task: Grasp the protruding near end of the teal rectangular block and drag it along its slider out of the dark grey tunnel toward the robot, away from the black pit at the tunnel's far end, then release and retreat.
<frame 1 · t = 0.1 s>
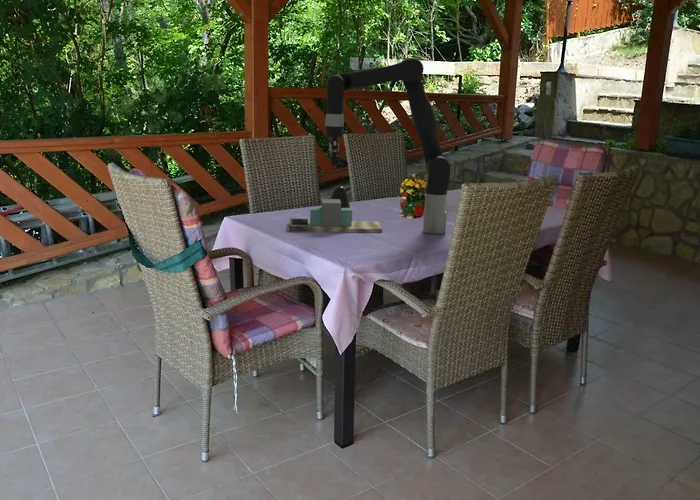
hand: (333, 164, 266), 29 cm above the table, fingers open, 8 cm apart
teal rectangular block: (330, 216, 277), point 5 cm above the table, slide at 0.0 cm
tunnel: (330, 227, 278), resting on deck
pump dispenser: (339, 218, 298), on the table
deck: (335, 227, 278), on the table
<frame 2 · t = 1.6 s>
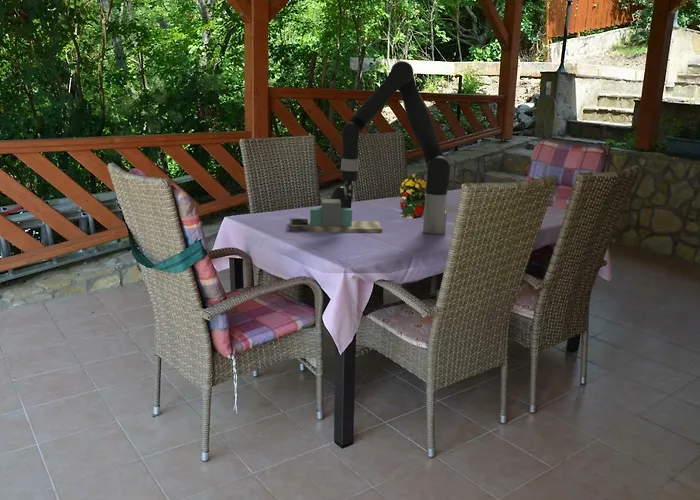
hand: (347, 205, 276), 10 cm above the table, fingers open, 8 cm apart
nothing on the table moved.
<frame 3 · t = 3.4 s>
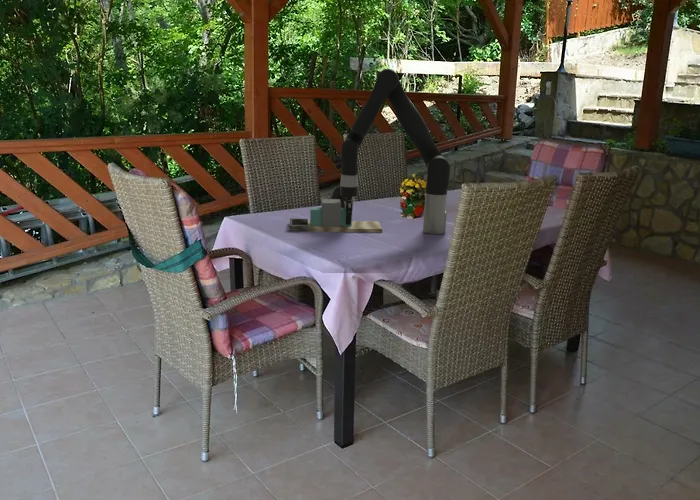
hand: (347, 222, 278), 2 cm above the table, fingers closed on teal rectangular block, 5 cm apart
teal rectangular block: (330, 216, 277), point 5 cm above the table, slide at 0.0 cm, touching gripper
everything else where it was.
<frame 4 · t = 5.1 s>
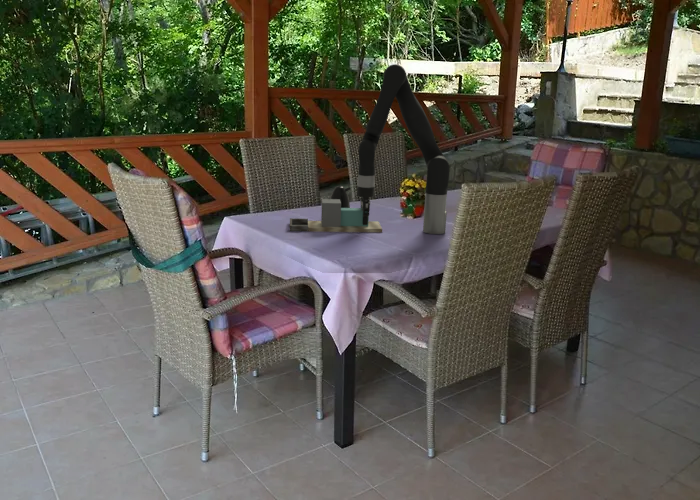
hand: (364, 223, 279), 2 cm above the table, fingers closed on teal rectangular block, 5 cm apart
teal rectangular block: (347, 216, 278), point 5 cm above the table, slide at 7.4 cm, touching gripper
everything else where it was.
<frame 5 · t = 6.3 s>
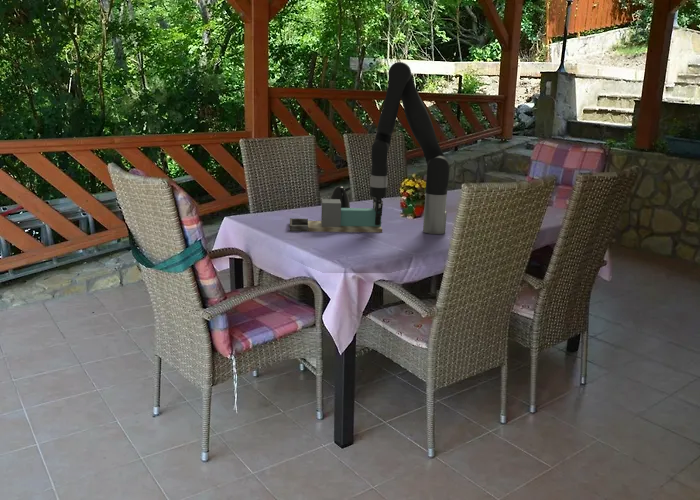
hand: (376, 223, 279), 2 cm above the table, fingers closed on teal rectangular block, 5 cm apart
teal rectangular block: (360, 217, 278), point 5 cm above the table, slide at 12.9 cm, touching gripper
everything else where it was.
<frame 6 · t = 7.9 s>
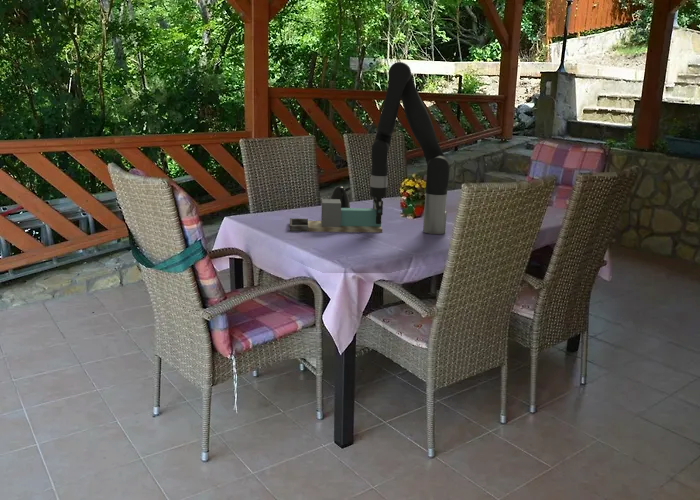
hand: (377, 221, 279), 3 cm above the table, fingers open, 8 cm apart
teal rectangular block: (360, 217, 278), point 5 cm above the table, slide at 13.0 cm
everything else where it was.
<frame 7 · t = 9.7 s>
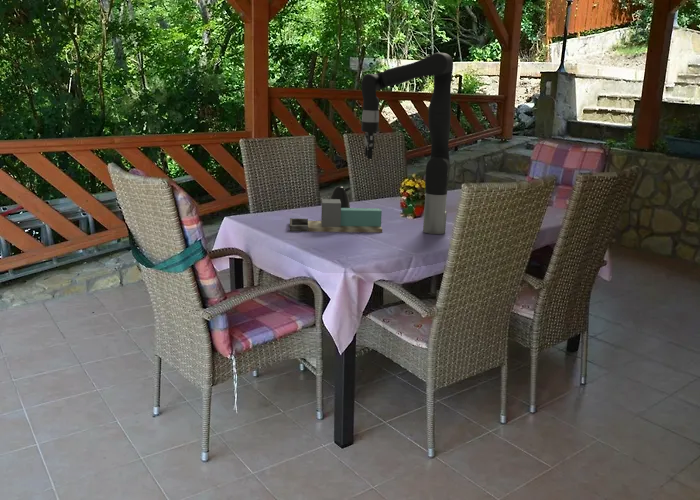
hand: (368, 157, 283), 30 cm above the table, fingers open, 8 cm apart
nothing on the table moved.
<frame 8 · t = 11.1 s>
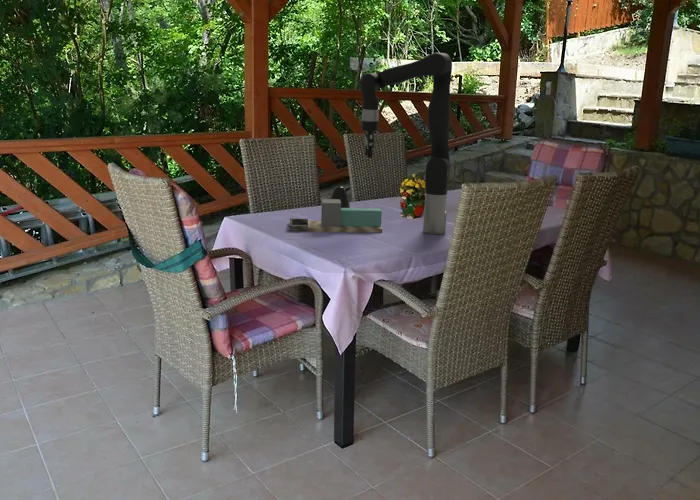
hand: (368, 156, 284), 30 cm above the table, fingers open, 8 cm apart
nothing on the table moved.
at the end: teal rectangular block slide at 13.0 cm; the gripper is holding nothing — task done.
